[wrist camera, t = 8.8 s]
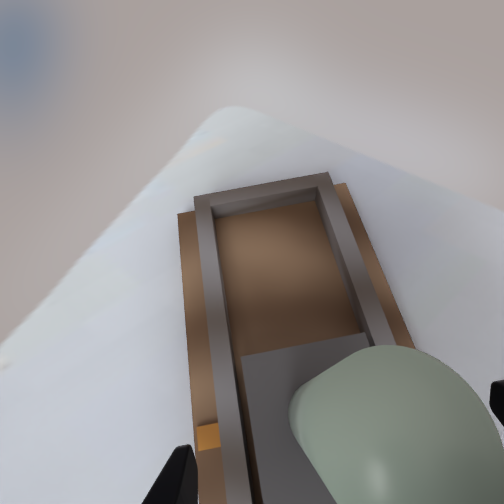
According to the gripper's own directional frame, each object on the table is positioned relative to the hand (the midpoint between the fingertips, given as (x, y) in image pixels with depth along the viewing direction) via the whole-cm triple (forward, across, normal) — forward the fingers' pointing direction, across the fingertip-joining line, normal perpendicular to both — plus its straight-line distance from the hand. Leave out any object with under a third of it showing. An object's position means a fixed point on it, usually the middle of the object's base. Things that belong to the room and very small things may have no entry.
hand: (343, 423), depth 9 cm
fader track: (+9, 0, +2) cm, 9 cm away
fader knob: (+5, 0, +4) cm, 6 cm away
